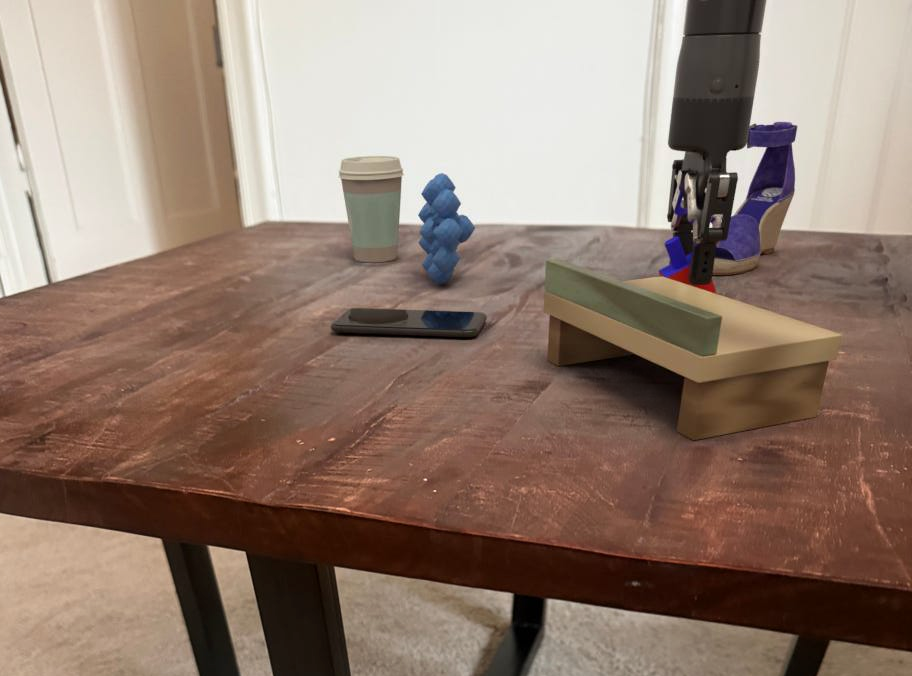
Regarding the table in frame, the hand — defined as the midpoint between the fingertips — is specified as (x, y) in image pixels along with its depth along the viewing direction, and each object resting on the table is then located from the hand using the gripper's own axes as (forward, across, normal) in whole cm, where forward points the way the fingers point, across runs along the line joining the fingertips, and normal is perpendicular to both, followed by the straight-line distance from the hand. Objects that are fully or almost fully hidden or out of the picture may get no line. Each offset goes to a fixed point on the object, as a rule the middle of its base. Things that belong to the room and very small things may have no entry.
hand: (688, 276), depth 92 cm
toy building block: (+3, 0, 0) cm, 3 cm away
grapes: (+3, +14, +25) cm, 29 cm away
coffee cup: (+3, +31, +34) cm, 46 cm away
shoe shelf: (+3, -27, +9) cm, 29 cm away
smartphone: (+3, -6, +30) cm, 31 cm away
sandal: (+3, +21, -13) cm, 25 cm away
